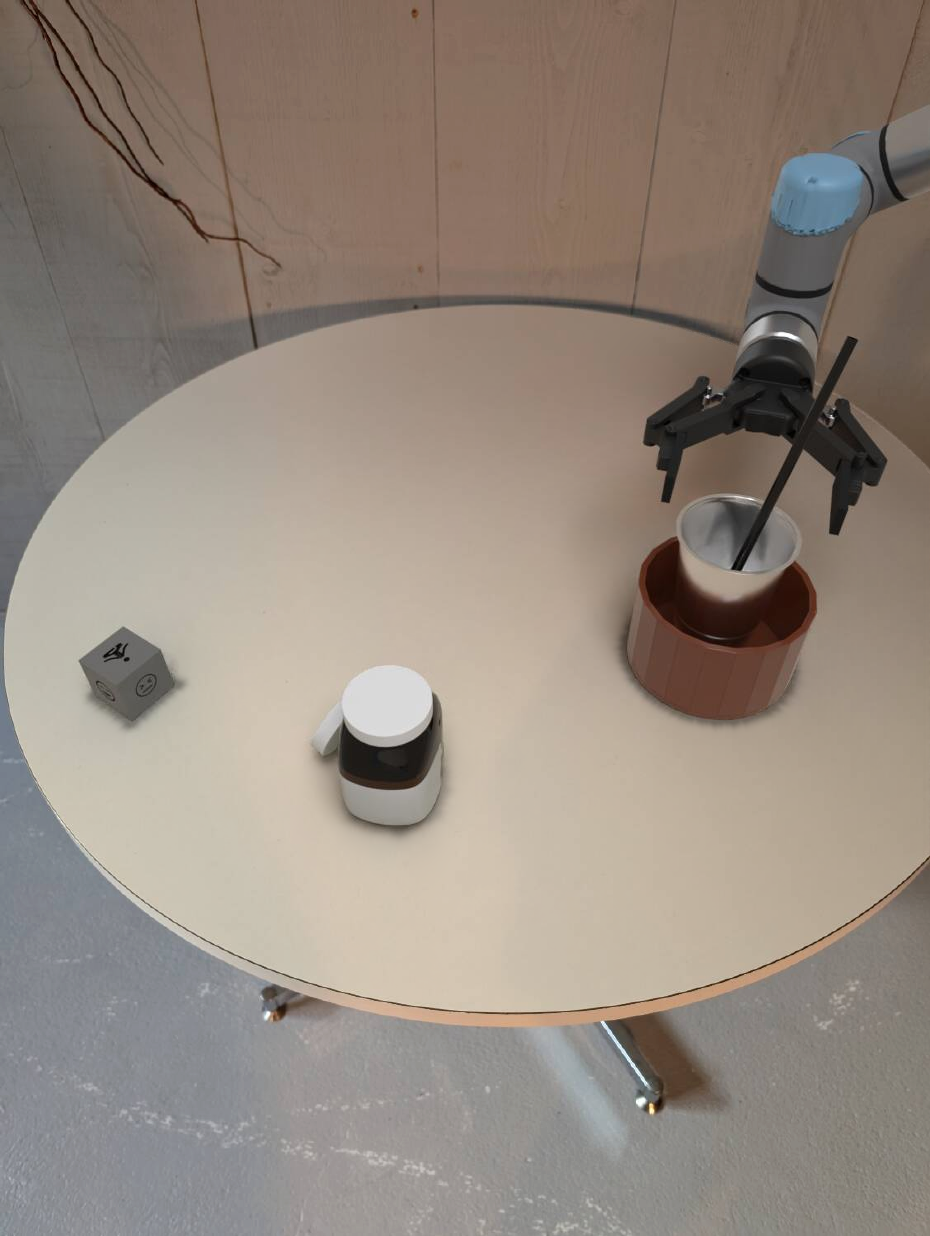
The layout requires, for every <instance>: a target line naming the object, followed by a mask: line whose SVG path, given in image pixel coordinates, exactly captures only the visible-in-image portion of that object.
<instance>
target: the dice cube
mask: <svg viewBox="0 0 930 1236" xmlns="http://www.w3.org/2000/svg"><path fill="white" fill-rule="evenodd" d="M78 663H79V665H80V667H81V669H82V671H83V673H84V675H85V678H86V679H87V682H88V683H89V685H90V688H91V690H92V693H93V695H94V696H95V697H96V698H97V699H99V700H100V701H102V702H103V703H104V704H106V705H107V706H109V707H111V708H113V709H114V710H115V711H116V712H118V713H119V714H121V715H122V716H124V717H125V718H127V719H128V720H130V721H131V722H134V721H135V720H136V719H137V718H138V717H139V716H141V714H143V713H144V712H145V711H146V710H147V709H149V708H150V707H151V706H152V705H154V704H155V703H156V702H157V701H158V700H160V698H162V697H163V696H164V695H166V694H167V693H168V692H169V691H170V690H171V689H172V688H174V687H175V683H174V680H173V678H172V676H171V675H172V674H171V672H170V669H169V667H168V664H167V662H166V659H165V657H164V654H163V651H162V649H161V648H159V647H158V646H156V645H155V644H153V643H151V642H149V641H148V640H146V639H145V638H143V637H142V636H140V635H139V634H137V633H135V632H133V631H132V630H131V629H129V628H127V627H125V626H124V625H123V626H121V627H120V628H119V629H117V630H116V631H114V632H113V633H112V634H111V635H110V636H108V637H107V638H106V639H104V640H102V642H100V643H99V644H98V645H96V646H95V647H94V648H93V649H91V650H90V651H88V652H87V653H86V654H85V655H83V656H81V658H80V659H78Z"/></svg>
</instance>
